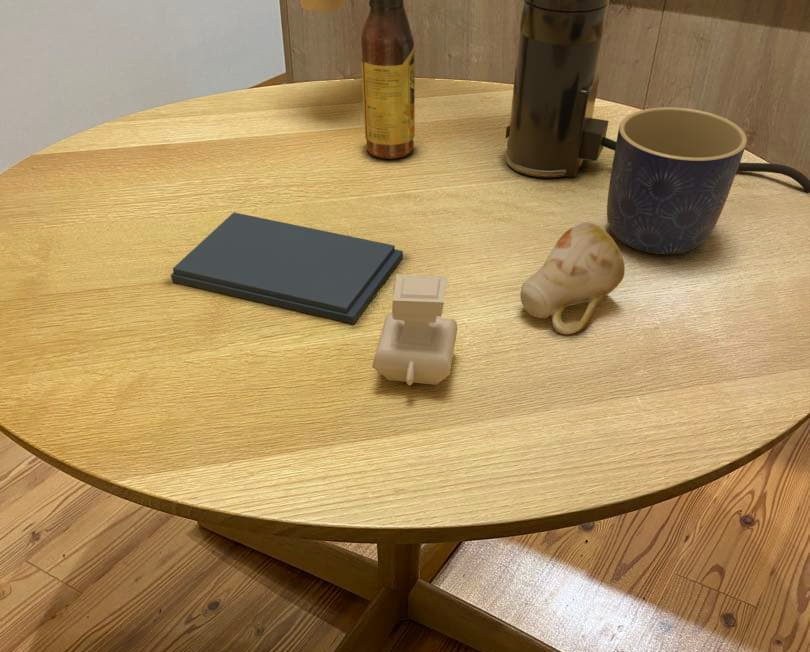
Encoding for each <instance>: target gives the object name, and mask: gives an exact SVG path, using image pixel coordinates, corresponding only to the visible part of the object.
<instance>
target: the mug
mask: <svg viewBox="0 0 810 652" xmlns="http://www.w3.org/2000/svg"><path fill="white" fill-rule="evenodd" d="M625 268H626V267H625V261H624V257H623V254H622V253H621V249H620V248H619V246H618V244H617V243H616V242H615V240H614V239H613V238H612V236H611V235H610V234H609V232H607V231H606V230H605V229H604V228H602V227H601V226H599V225H598V224H595V223H593V222H589V221H585V222H581V223H578V224H576V225H575V226H572V227H570V228H569V229H568V230H566V231H565V232H564V233H563V234H562V235H561V236H560V237H559V239H558V240H557V241H556V243H555V244H554V246H553V248H552V249H551V251H550V253H549V255H548V256H547V258H546V260H545V261H544V263H543V265H542V266H541V267H540V268H539V269H538V270H537V271H536V272H535V273H533V275H532V276H530V277H528V279H525V280H524V281H523V283H522V285H521V287H520V291H519V297H520V302H521V304H522V307H523V308H524V309H525V311H526V312H527V313H528V314H529V315H530V316H532V317H534V318H538V319H546V318H548V317H550V316H551V320H552V326H553V329H554V330H555V331H556V333H559V334H562V335H571V334H575V333H577V332H579V331H581V330H582V329H584V328H585V326H587V324H588V323H589V321H590V318H591V317H592V314H593V312H594V311H595V309H596V308H597V307H598V305H599V304H600V303H601V301H603V300H604V299H605V297H606V296H607V295H609V294H610V293H612V292H613V291H614V290H615V289H616V288H617V287H618V286H619V285H620V284H621V283H622V281H623V280H624V276H625V272H626V269H625ZM584 303H588V304H587V307H586V309H585V312H584V313H583V315H582V317H581V319H580V320H579V322H577V323H576V324H571V325H567V324H565V323H564V322H563V321H562V315H563V313H564V311H565V308H566V307H569V306H574V305H580V304H584Z"/></svg>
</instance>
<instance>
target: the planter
mask: <svg viewBox="0 0 810 652" xmlns="http://www.w3.org/2000/svg"><path fill="white" fill-rule="evenodd" d="M747 144H748V139H747V135H746V133H745V131H744V130H743V129H742V128H741V127H740V126H739V125H738V124H736V123H735V122H733V121H731V120H729V119H727V118H725V117H723V116H721V115H719V114H715V113H713V112H708V111H704V110H700V109H695V108H688V107H675V106H669V107H668V106H661V107H650V108H645V109H641V110H638V111H635V112H632V113H630V114H628V115H627V116H625V117H624V118H623V119H622V120H621V121H620V123H619V125H618V130H617V136H616V147H615V151H614V154H613V159H612V160H613V161H612V167H611V172H610V177H609V185H608V193H607V200H606V201H607V202H606V203H607V205H606V216H607V217H606V218H607V223H608V226H609V229H610V231H611V232H612V234H613V235H614V236H615V237H616V239H618V240H619V241H620V242H621V243H624V244H625V245H627V246H628V247H630V248H632V249H635V250H637V251H641V252H643V253H644V252H645V253H649V254H655V255H677V254H682V253H686V252H688V251H691V250H693V249H695V248H698V247H699V246H701V245H702V244H703V243H704V242H706V240H708V238H709V237H710V236H711V234H712V232H713V231H714V229H715V227H716V226H717V223H718V221H719V219H720V217H721V214H722V212H723V210H724V207H725V205H726V202H727V199H728V198H729V195H730V191H731V188H732V185H733V183H734V180H735V178H736V175H737V172H738V171H737V169H738V167H739V164H740V163H741V161H742V158H743V155H744V152H745V149H746V146H747Z"/></svg>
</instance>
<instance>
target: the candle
mask: <svg viewBox="0 0 810 652" xmlns="http://www.w3.org/2000/svg"><path fill="white" fill-rule="evenodd" d="M299 1H300V2H299V3H300V6H301V8H302V9H303V10H306V11H310V12H317V13H324V12H325V13H326V12H334V11H337V10H340V9H342V8H344V7H345V6H346V0H299Z"/></svg>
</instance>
